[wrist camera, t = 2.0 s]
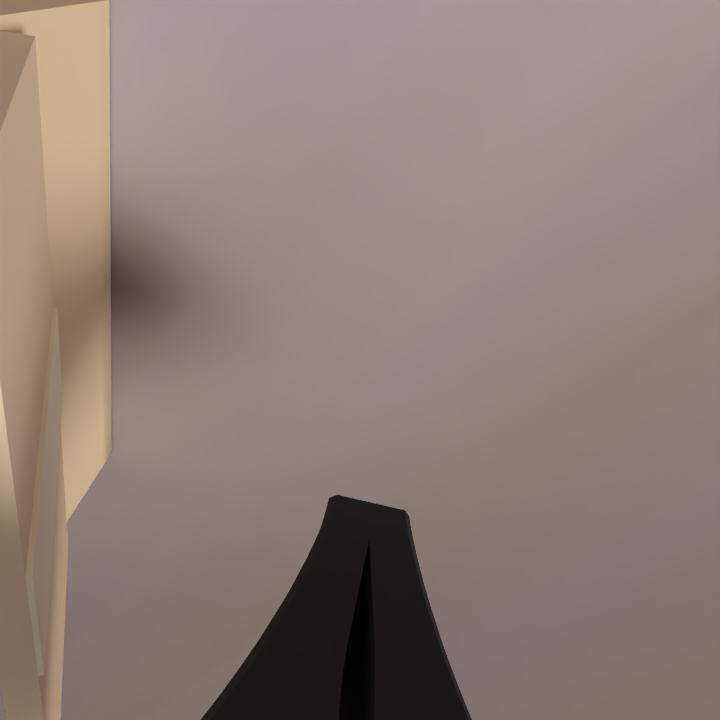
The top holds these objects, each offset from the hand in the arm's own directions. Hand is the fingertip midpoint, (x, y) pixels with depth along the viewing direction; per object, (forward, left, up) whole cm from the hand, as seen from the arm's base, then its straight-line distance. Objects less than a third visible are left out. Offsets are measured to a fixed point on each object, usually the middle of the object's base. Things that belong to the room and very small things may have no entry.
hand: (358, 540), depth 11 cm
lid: (-4, +5, 0) cm, 6 cm away
